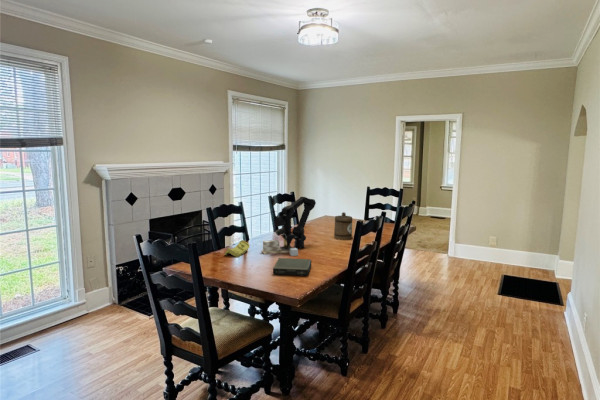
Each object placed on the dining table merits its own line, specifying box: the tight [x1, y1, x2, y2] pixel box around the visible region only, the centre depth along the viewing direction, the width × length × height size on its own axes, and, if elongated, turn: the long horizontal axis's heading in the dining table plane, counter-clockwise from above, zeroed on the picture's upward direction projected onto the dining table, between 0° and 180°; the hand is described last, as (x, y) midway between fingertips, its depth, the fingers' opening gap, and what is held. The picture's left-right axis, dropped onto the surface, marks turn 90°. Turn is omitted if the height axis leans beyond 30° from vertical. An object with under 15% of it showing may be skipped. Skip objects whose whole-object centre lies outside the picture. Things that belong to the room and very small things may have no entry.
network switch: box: [272, 257, 312, 277], centre depth 227 cm, size 23×23×5 cm
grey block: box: [289, 247, 299, 257], centre depth 261 cm, size 4×4×4 cm
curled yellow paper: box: [224, 239, 250, 258], centre depth 265 cm, size 20×7×10 cm
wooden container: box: [333, 211, 353, 241], centre depth 313 cm, size 15×15×22 cm
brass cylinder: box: [283, 238, 291, 248], centre depth 272 cm, size 5×5×6 cm
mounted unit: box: [261, 239, 294, 255], centre depth 269 cm, size 23×8×8 cm, turn 111°
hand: (287, 245), depth 272 cm, fingers closed on brass cylinder, 5 cm apart
